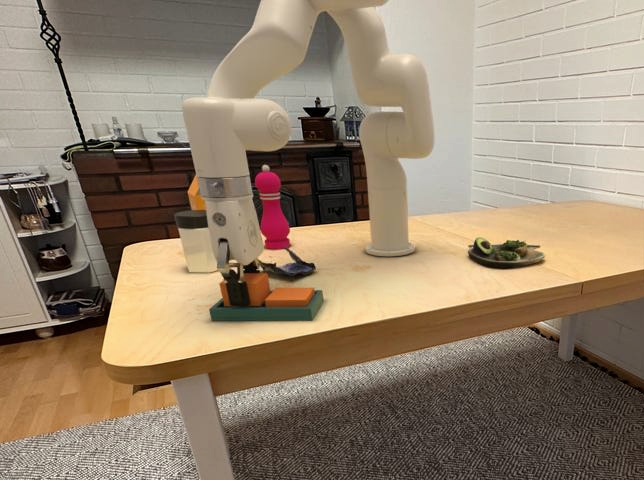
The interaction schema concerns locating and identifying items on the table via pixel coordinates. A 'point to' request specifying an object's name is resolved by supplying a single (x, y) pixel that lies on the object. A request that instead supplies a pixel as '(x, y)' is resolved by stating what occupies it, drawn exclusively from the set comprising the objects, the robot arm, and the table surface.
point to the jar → (196, 240)
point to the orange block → (251, 288)
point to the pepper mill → (272, 210)
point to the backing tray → (266, 311)
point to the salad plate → (504, 253)
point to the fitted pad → (290, 297)
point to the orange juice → (196, 196)
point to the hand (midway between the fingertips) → (247, 297)
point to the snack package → (289, 266)
